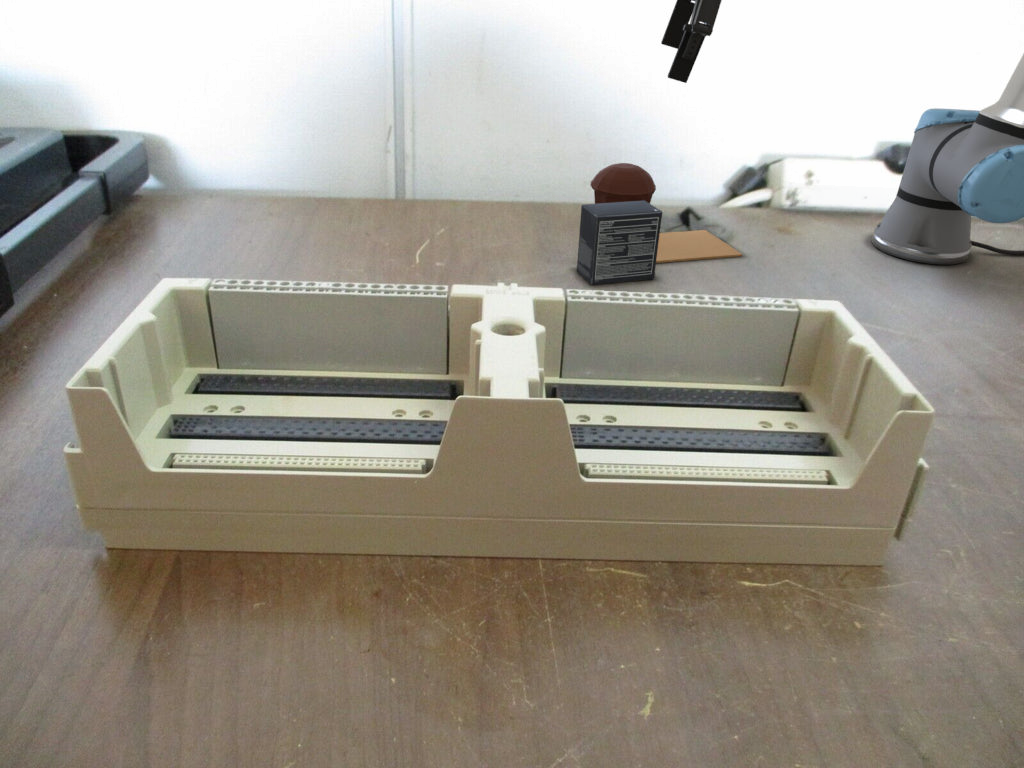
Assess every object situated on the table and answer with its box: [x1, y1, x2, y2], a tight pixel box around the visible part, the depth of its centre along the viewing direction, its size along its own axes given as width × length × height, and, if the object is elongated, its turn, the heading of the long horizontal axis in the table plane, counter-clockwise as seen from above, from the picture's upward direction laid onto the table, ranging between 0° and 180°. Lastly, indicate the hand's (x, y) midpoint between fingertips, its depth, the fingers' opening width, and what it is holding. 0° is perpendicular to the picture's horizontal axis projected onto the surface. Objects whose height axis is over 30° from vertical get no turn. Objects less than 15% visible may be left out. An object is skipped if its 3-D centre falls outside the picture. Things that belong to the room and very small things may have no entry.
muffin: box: [590, 162, 657, 204], centre depth 135 cm, size 12×11×10 cm
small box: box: [576, 201, 664, 286], centre depth 113 cm, size 11×6×10 cm, turn 108°
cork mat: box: [656, 229, 743, 264], centre depth 127 cm, size 20×12×1 cm, turn 107°
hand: (673, 62), depth 111 cm, fingers open, 13 cm apart
